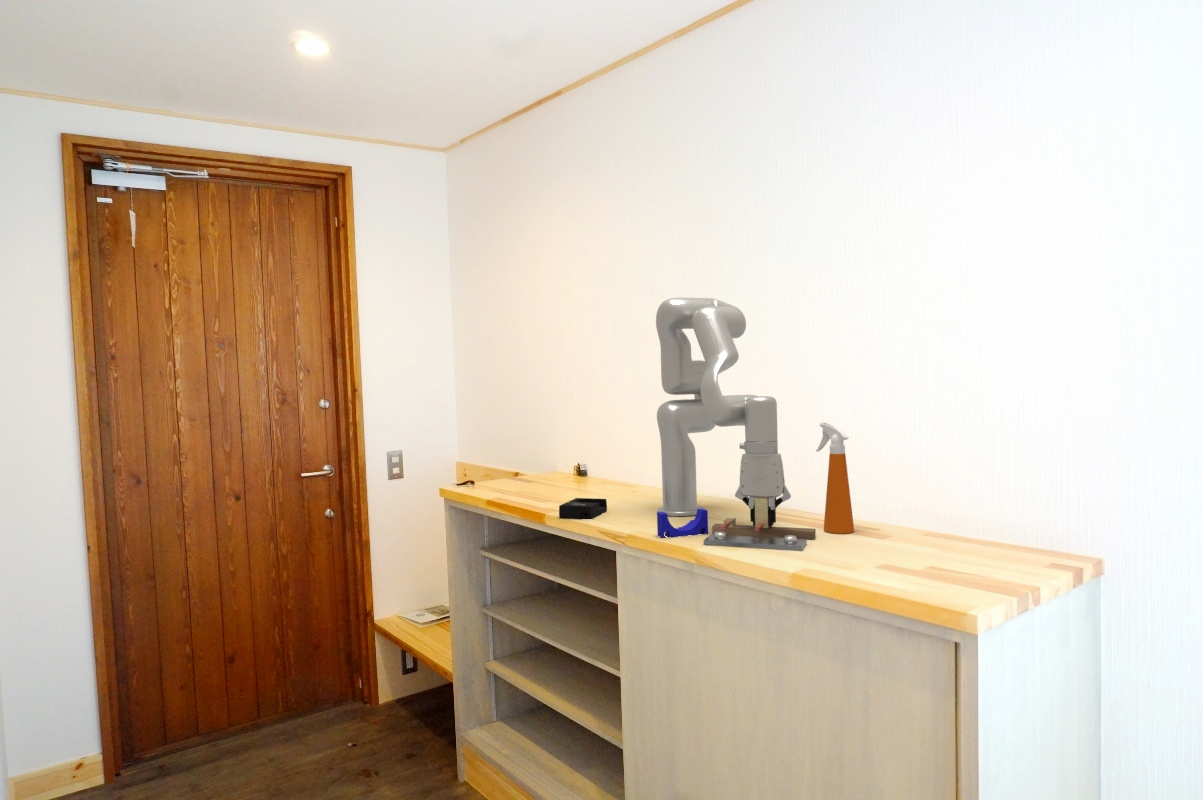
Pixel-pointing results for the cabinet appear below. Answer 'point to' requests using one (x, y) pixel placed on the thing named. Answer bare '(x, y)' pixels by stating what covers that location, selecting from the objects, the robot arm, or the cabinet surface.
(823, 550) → the cabinet surface
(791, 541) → the bolt plate
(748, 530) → the beam
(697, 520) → the cable clip
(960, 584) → the cabinet surface
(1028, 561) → the cabinet surface
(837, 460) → the spray bottle
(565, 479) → the cabinet surface
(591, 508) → the battery charger
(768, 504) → the slider
